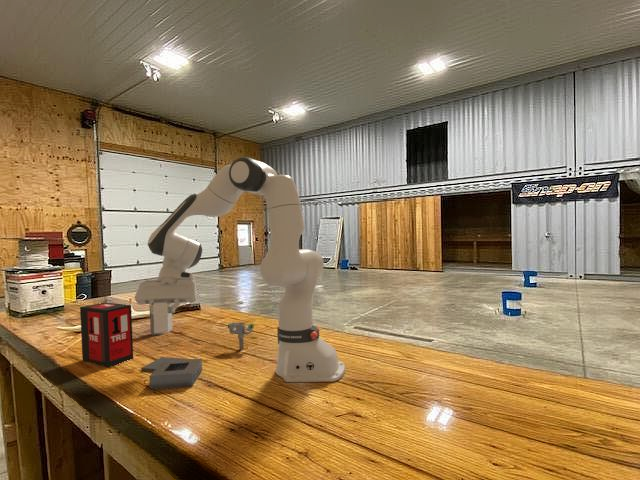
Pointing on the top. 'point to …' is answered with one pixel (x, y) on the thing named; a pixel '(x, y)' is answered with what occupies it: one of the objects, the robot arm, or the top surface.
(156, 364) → the rubber mat
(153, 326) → the lotion bottle
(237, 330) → the mechanical component
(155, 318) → the aluminium plug
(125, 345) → the cleaning product box
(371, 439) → the top surface
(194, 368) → the square socket
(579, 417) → the top surface
